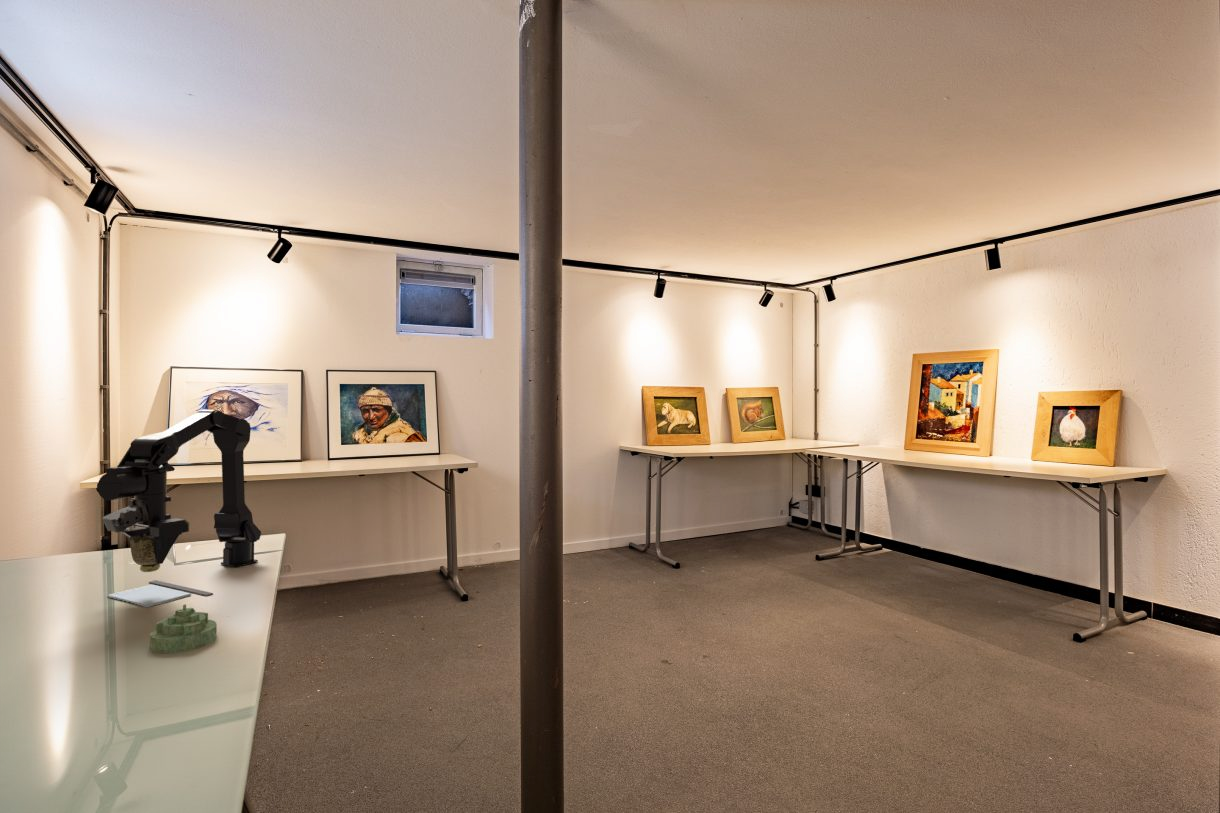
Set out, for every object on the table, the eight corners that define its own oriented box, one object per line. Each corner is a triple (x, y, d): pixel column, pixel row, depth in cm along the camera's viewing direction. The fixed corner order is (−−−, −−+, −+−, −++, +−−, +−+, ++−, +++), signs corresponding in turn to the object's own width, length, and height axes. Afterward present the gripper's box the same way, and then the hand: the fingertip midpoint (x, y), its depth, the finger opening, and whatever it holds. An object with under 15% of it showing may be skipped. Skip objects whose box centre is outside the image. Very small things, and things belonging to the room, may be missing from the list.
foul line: (155, 581, 147) (155, 580, 147) (212, 594, 138) (212, 593, 138) (148, 583, 146) (148, 581, 146) (206, 596, 137) (206, 594, 137)
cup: (178, 567, 140) (178, 532, 140) (151, 576, 132) (151, 539, 132) (149, 565, 140) (149, 531, 140) (120, 574, 133) (120, 538, 133)
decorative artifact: (167, 634, 115) (137, 655, 105) (168, 597, 115) (138, 615, 105) (225, 631, 117) (201, 652, 107) (226, 595, 117) (202, 612, 107)
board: (151, 586, 144) (151, 584, 144) (190, 595, 137) (190, 593, 137) (107, 597, 135) (107, 594, 135) (147, 607, 129) (147, 605, 129)
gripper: (85, 494, 133) (84, 565, 133) (134, 501, 125) (134, 576, 125) (141, 488, 143) (141, 554, 143) (190, 494, 135) (190, 563, 135)
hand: (150, 562), depth 136 cm, fingers closed on cup, 7 cm apart
